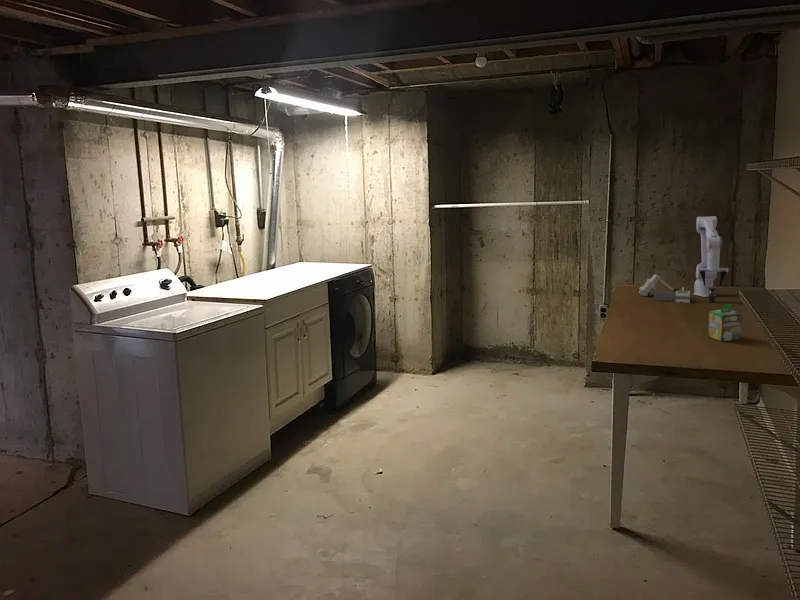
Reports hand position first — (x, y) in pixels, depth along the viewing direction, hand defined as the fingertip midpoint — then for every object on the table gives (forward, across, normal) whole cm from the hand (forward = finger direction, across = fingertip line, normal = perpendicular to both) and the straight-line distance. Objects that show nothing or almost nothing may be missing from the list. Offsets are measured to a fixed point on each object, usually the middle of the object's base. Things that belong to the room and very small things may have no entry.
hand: (712, 285), depth 338 cm
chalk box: (+9, +2, -79) cm, 79 cm away
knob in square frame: (+9, -20, +5) cm, 22 cm away
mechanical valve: (+9, -27, +15) cm, 32 cm away
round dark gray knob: (+9, 0, 0) cm, 9 cm away
